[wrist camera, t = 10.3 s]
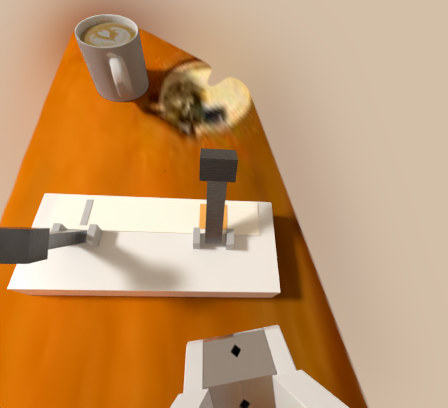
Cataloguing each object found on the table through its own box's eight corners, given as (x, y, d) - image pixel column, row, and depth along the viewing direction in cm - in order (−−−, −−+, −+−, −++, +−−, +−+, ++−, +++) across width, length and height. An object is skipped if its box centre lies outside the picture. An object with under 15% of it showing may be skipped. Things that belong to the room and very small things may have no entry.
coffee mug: (99, 68, 52) (78, 13, 43) (149, 68, 53) (139, 14, 44) (91, 115, 45) (66, 61, 37) (148, 114, 47) (136, 61, 38)
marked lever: (228, 247, 30) (237, 159, 24) (197, 246, 30) (200, 158, 24) (227, 233, 32) (235, 150, 26) (198, 232, 32) (201, 148, 26)
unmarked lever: (93, 247, 30) (27, 264, 19) (61, 246, 30) (-24, 263, 19) (94, 225, 30) (30, 229, 19) (63, 224, 30) (-21, 227, 19)
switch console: (271, 297, 33) (285, 289, 28) (29, 295, 31) (-7, 285, 25) (264, 215, 39) (274, 195, 33) (59, 207, 36) (36, 184, 31)
